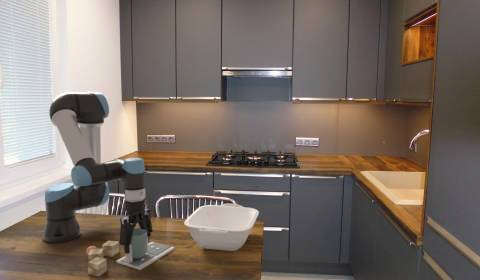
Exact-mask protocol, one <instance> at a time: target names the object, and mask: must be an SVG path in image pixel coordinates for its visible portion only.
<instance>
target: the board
mask: <svg viewBox="0 0 480 280" xmlns="http://www.w3.org/2000/svg"><path fill="white" fill-rule="evenodd" d="M174 250H175V247H174V246H170V245H168V244H167V245H166V244H163V243H159V242H156V241H151V242H149V243H148V253H146V254H145V255H144V256H143V257H142V258H140V259H133V261H132V262H130V261H127V260H126V255H124V256H123V257H121V258H119V259H117V260H116V263H117V264H119V265H123V266H125V267H128V268H132V269H135V270H138V271H141V270H143V269H144V268H146V267H148V266H149V265H151V264H153V263H154V262H156V261H158V260H159V259H161V258H163V257H164V256H165V255H167V254H169V253H170V252H172V251H174Z"/></svg>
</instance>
